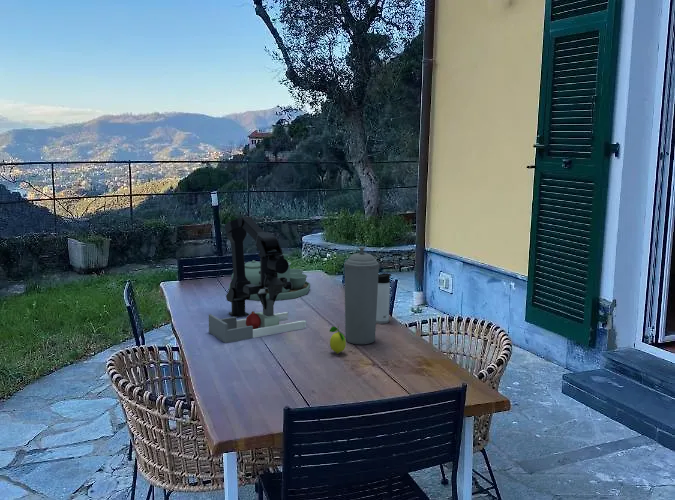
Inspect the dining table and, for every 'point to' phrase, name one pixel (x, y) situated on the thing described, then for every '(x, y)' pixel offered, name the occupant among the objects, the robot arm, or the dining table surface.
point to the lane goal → (247, 328)
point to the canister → (361, 297)
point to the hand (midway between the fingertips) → (268, 308)
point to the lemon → (337, 341)
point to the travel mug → (383, 298)
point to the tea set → (292, 275)
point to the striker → (269, 315)
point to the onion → (253, 320)
